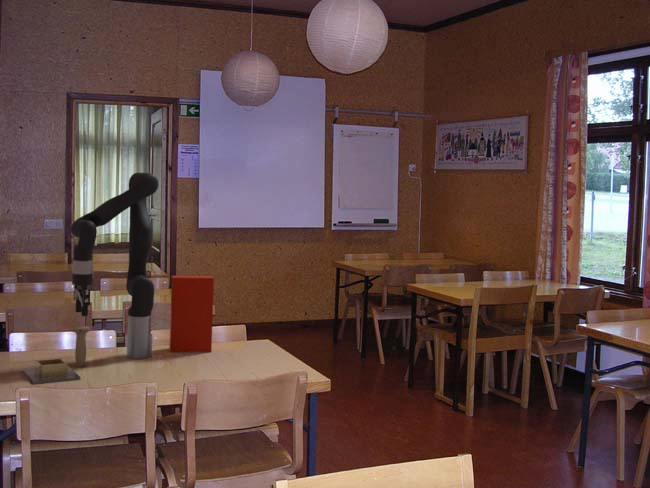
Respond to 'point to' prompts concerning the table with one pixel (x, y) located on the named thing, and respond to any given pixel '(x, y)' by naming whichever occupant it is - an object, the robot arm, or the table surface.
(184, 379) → the table surface
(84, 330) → the handle
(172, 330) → the red rectangular box
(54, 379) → the square socket base
